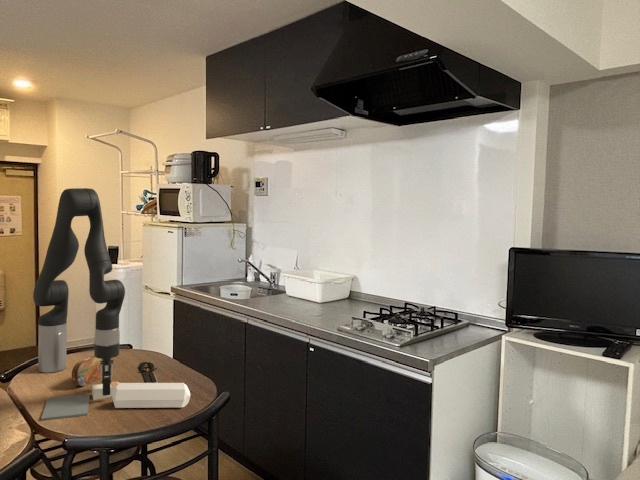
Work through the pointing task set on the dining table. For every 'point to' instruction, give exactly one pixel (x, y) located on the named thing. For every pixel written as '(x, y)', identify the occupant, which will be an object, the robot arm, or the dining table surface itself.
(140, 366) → the knife
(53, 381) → the dining table surface
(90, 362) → the tin
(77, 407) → the mat
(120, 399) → the crystal
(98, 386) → the card box
